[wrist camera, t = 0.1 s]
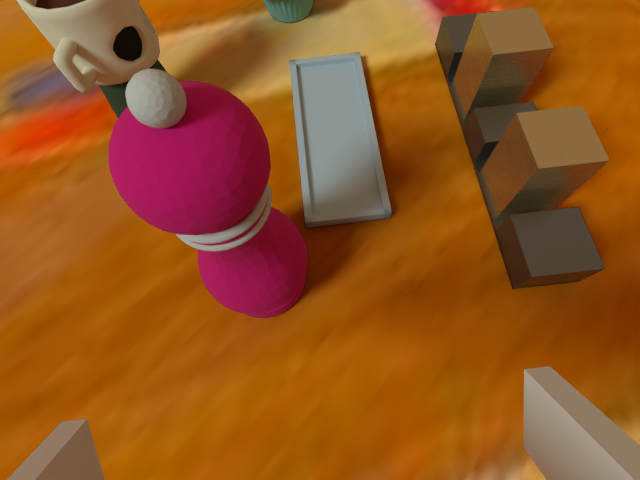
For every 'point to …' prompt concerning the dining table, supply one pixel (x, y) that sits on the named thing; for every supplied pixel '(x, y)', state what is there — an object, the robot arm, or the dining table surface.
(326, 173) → the tray
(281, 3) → the cupcake
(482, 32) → the beige rectangular block
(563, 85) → the dining table surface
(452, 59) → the gray notched bar
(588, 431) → the robot arm
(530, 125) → the cream upright block
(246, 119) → the pepper mill
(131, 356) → the dining table surface
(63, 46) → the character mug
